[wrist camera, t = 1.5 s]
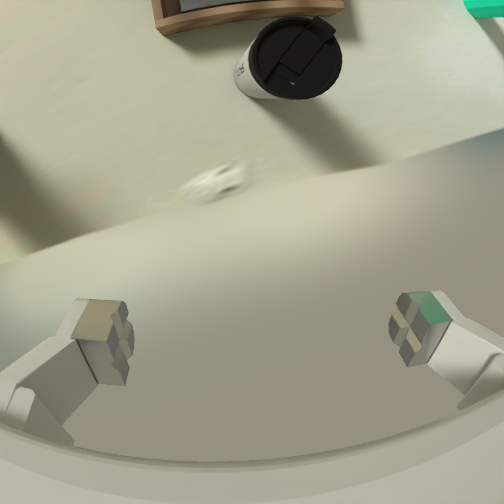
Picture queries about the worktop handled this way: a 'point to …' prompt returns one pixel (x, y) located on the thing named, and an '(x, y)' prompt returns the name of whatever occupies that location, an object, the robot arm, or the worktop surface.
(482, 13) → the candle
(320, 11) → the open box
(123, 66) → the worktop surface
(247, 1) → the plate
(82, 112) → the worktop surface
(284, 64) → the travel mug
